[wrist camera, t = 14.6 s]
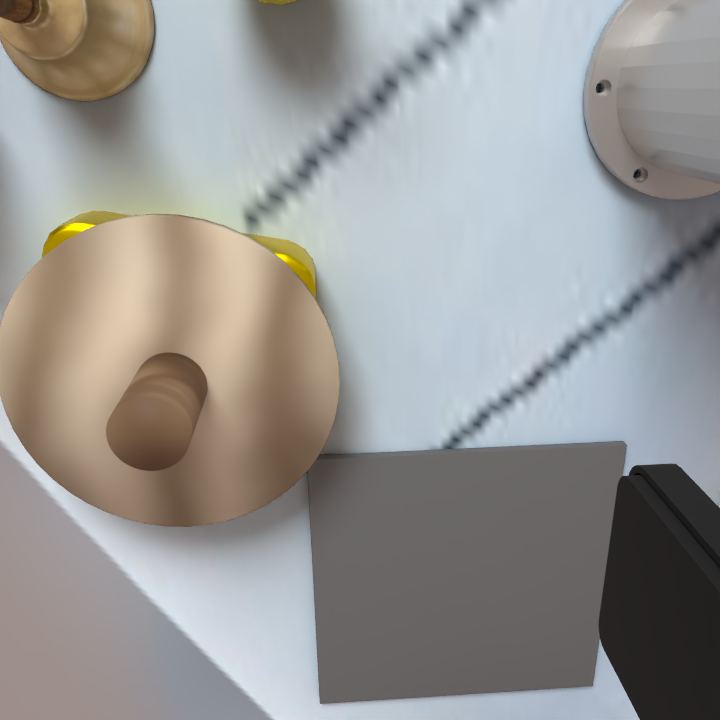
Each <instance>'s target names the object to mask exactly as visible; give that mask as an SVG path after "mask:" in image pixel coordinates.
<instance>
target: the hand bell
mask: <svg viewBox="0 0 720 720" xmlns="http://www.w3.org/2000/svg"><path fill="white" fill-rule="evenodd" d="M153 37H154V16H153V9H152V5H151V1H150V0H0V41H1V43H2V45H3V47H4V49H5V50H6V52H7V54H8V55H9V57H10V58H11V60H12V61H13V62H14V64H15V65H16V66H17V67H18V69H19V70H20V71H21V72H22V73H23V74H24V75H25V76H26V77H28V78H29V79H30V80H31V81H32V82H34V83H35V84H36V85H38V86H39V87H41V88H43V89H44V90H46V91H48V92H50V93H52V94H54V95H56V96H59V97H62V98H66V99H71V100H78V101H94V100H100V99H104V98H107V97H110V96H112V95H115V94H117V93H119V92H120V91H122V90H124V89H125V88H126V87H128V86H129V85H130V84H131V83H132V82H133V81H134V80H135V79H136V78H137V77H138V75H139V74H140V73H141V71H142V70H143V68H144V66H145V64H146V62H147V60H148V57H149V54H150V51H151V48H152V44H153Z"/></svg>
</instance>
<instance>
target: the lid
mask: <svg viewBox="0 0 720 720" xmlns="http://www.w3.org/2000/svg"><path fill="white" fill-rule="evenodd" d="M339 384H340V378H339V367H338V356H337V351H336V347H335V343H334V338H333V335H332V332H331V329H330V327H329V324H328V322H327V319H326V316H325V314H324V313H323V311H322V309H321V307H320V305H319V304H318V302H317V300H316V298H315V297H314V295H313V294H312V292H311V291H310V290H309V288H308V287H307V286H306V284H305V283H304V282H303V280H302V279H301V278H300V277H299V276H298V275H297V274H296V273H295V272H294V271H293V270H292V269H291V268H290V267H289V265H288V264H287V263H285V262H284V261H283V260H282V259H281V258H279V257H278V256H277V255H276V254H274V253H273V252H272V251H271V250H269V249H268V248H266V247H265V246H263V245H262V244H260V243H258V242H257V241H255V240H253V239H252V238H250V237H249V236H247V235H244V234H242V233H240V232H238V231H236V230H233V229H231V228H229V227H227V226H224V225H220V224H217V223H214V222H211V221H208V220H204V219H200V218H194V217H188V216H183V215H171V214H146V215H134V216H128V217H123V218H119V219H114V220H110V221H107V222H104V223H101V224H98V225H96V226H93V227H90V228H88V229H86V230H84V231H82V232H80V233H78V234H76V235H74V236H73V237H71V238H69V239H67V240H65V241H64V242H62V243H61V244H59V245H58V246H57V247H55V248H54V249H53V250H51V251H50V252H49V253H47V254H46V255H45V256H44V257H43V258H42V259H41V260H40V261H39V262H38V263H37V264H36V265H35V266H34V267H33V268H32V269H31V270H30V271H29V272H28V273H27V274H26V276H25V277H24V279H23V280H22V281H21V283H20V284H19V286H18V287H17V288H16V290H15V292H14V294H13V296H12V298H11V300H10V302H9V304H8V306H7V308H6V310H5V313H4V316H3V319H2V323H1V326H0V395H1V399H2V402H3V406H4V409H5V412H6V414H7V416H8V419H9V421H10V423H11V425H12V428H13V430H14V431H15V433H16V435H17V436H18V438H19V440H20V441H21V443H22V444H23V446H24V448H25V449H26V450H27V451H28V453H29V454H30V455H31V456H32V458H33V459H34V460H35V461H36V463H37V464H38V465H39V466H40V467H41V468H42V469H43V470H44V471H45V472H46V473H47V474H48V475H49V476H50V477H51V478H52V479H53V480H55V481H56V482H57V483H58V484H60V485H61V486H62V487H64V488H65V489H66V490H67V491H69V492H70V493H72V494H73V495H75V496H77V497H78V498H80V499H82V500H83V501H85V502H86V503H88V504H90V505H92V506H95V507H97V508H99V509H101V510H103V511H105V512H107V513H110V514H113V515H116V516H119V517H122V518H125V519H128V520H133V521H137V522H141V523H146V524H153V525H161V526H183V527H189V526H199V525H209V524H214V523H218V522H223V521H228V520H231V519H234V518H237V517H240V516H243V515H246V514H248V513H250V512H252V511H255V510H257V509H259V508H261V507H263V506H265V505H267V504H268V503H270V502H271V501H273V500H275V499H276V498H278V497H279V496H281V495H282V494H283V493H285V492H286V491H287V490H288V489H289V488H291V487H292V486H293V485H294V484H296V482H297V481H298V480H299V479H300V478H301V477H302V476H303V475H304V474H305V473H306V472H307V471H308V470H309V468H310V467H311V466H312V464H313V463H314V461H315V460H316V458H317V457H318V456H319V454H320V452H321V451H322V449H323V447H324V445H325V443H326V441H327V439H328V437H329V434H330V431H331V429H332V426H333V423H334V420H335V416H336V411H337V406H338V401H339Z"/></svg>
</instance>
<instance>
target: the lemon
mask: <svg viewBox="0 0 720 720" xmlns="http://www.w3.org/2000/svg"><path fill="white" fill-rule="evenodd" d="M258 1H261V2H263V3H270V4H281V5H282V4H286V3H289V2H293V1H297V0H258Z"/></svg>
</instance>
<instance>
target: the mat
mask: <svg viewBox="0 0 720 720" xmlns="http://www.w3.org/2000/svg"><path fill="white" fill-rule="evenodd" d="M626 447H627V445H626V444H625V443H624V442H623V441H615V442H594V443H572V444H551V445H530V446H509V447H487V448H466V449H445V450H423V451H402V452H381V453H359V454H338V455H319V456H318V457H317V458H316V460H315V461H314V463H313V464H312V466H311V467H310V468H309V470H308V489H309V508H310V527H311V545H312V564H313V583H314V602H315V621H316V639H317V658H318V677H319V696H320V704H324V703H339V702H355V701H370V700H385V699H401V698H416V697H431V696H446V695H462V694H477V693H492V692H508V691H523V690H538V689H554V688H569V687H584V686H593V681H594V674H595V666H596V659H597V652H598V645H599V638H600V635H599V626H598V624H599V614H600V607H601V600H602V593H603V586H604V578H605V571H606V564H607V557H608V550H609V543H610V535H611V528H612V521H613V514H614V507H615V499H616V492H617V486H618V481H619V480H620V478H621V477H622V476H623V468H624V461H625V454H626Z"/></svg>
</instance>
